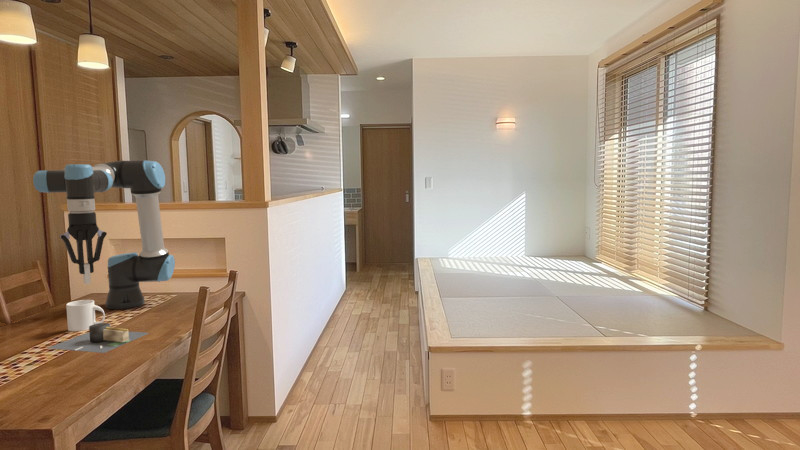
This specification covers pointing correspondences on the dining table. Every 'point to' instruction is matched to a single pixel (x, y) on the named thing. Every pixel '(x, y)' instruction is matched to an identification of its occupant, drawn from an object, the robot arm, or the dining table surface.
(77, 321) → the mug
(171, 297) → the dining table surface
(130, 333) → the gauge board
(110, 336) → the dial lever
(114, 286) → the robot arm
